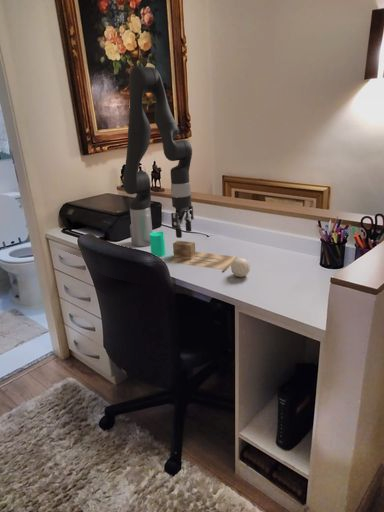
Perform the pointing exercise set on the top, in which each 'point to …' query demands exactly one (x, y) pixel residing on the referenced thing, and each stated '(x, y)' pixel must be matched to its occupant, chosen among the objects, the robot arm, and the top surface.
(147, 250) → the top surface
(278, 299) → the top surface
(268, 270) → the top surface
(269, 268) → the top surface
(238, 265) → the baseball
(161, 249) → the candle
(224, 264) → the board
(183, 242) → the block
